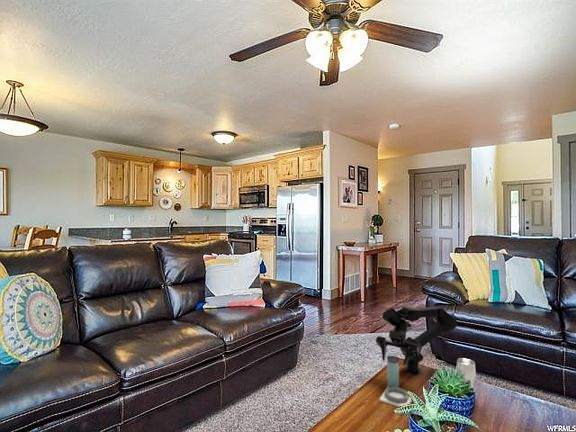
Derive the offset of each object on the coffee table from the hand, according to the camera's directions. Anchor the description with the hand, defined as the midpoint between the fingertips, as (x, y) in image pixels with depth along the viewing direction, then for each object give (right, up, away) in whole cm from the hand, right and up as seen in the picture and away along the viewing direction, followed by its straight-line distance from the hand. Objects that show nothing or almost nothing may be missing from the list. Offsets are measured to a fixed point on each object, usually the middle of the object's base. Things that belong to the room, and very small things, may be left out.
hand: (393, 363), depth 146 cm
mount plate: (-2, -10, -11) cm, 15 cm away
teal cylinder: (-1, -10, -2) cm, 10 cm away
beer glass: (+27, -10, -10) cm, 31 cm away
